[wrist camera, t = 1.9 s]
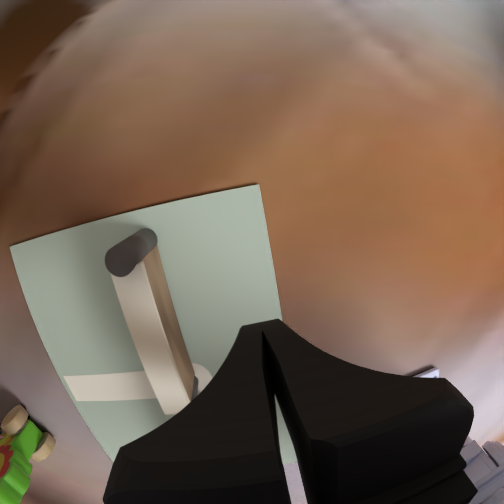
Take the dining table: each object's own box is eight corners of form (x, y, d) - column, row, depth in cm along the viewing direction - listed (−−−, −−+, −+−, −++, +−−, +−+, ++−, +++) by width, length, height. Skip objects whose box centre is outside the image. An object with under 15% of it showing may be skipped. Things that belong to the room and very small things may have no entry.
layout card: (303, 458, 23) (303, 460, 23) (123, 474, 23) (123, 475, 22) (258, 184, 17) (259, 184, 17) (11, 246, 17) (9, 246, 17)
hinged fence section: (197, 372, 19) (191, 420, 15) (175, 375, 19) (164, 422, 15) (156, 225, 17) (131, 242, 12) (130, 231, 17) (99, 249, 12)
